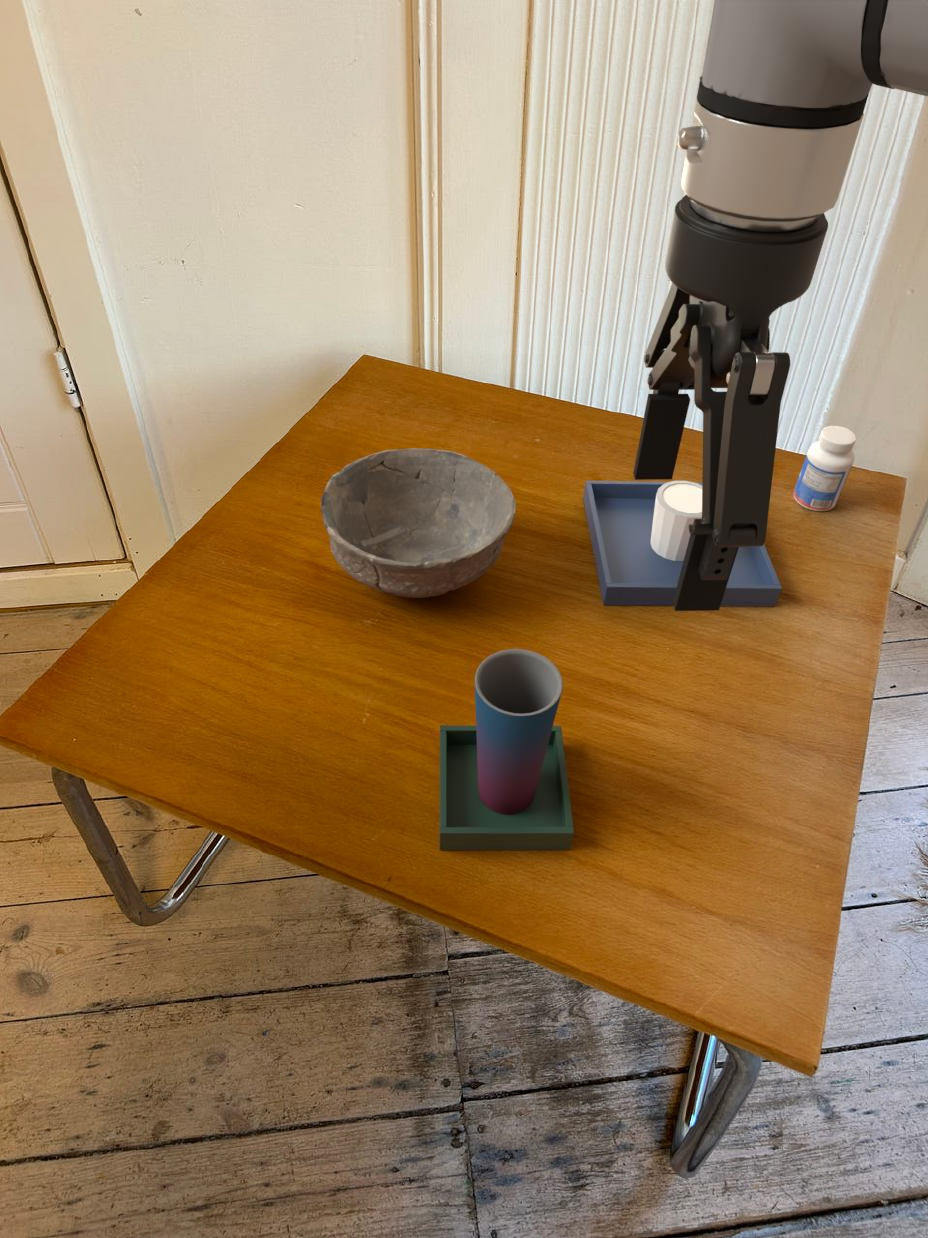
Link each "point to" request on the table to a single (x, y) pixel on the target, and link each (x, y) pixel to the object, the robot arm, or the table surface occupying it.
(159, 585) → the table surface
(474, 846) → the near tray
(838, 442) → the pill bottle
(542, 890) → the table surface
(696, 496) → the white faceted candle
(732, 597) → the far tray
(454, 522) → the bowl
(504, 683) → the cup
